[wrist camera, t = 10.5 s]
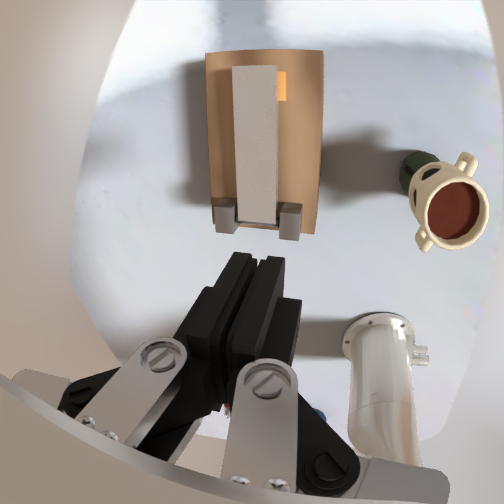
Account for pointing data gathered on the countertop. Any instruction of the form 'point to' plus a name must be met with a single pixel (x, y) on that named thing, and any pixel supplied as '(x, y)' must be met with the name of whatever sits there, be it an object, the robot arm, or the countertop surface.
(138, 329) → the countertop surface
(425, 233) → the character mug
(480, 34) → the countertop surface
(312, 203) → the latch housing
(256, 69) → the latch lever
